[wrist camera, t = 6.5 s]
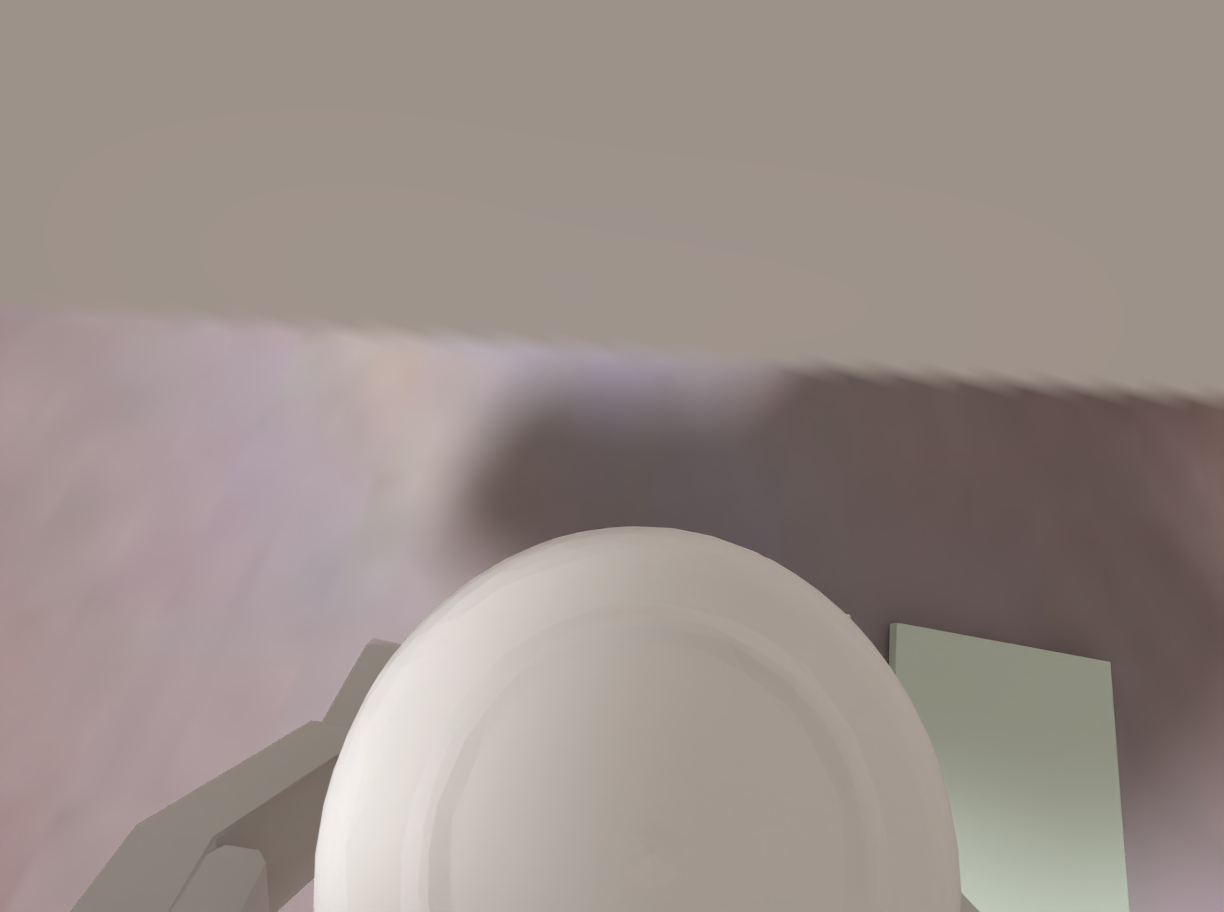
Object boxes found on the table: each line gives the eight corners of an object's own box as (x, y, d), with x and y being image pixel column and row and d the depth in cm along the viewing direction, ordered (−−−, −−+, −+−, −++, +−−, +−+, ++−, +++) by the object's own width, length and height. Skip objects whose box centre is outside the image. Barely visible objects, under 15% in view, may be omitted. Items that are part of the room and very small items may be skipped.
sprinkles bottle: (459, 688, 17) (185, 703, 4) (615, 602, 18) (757, 415, 5) (540, 865, 16) (484, 1566, 3) (701, 763, 17) (1132, 1002, 4)
